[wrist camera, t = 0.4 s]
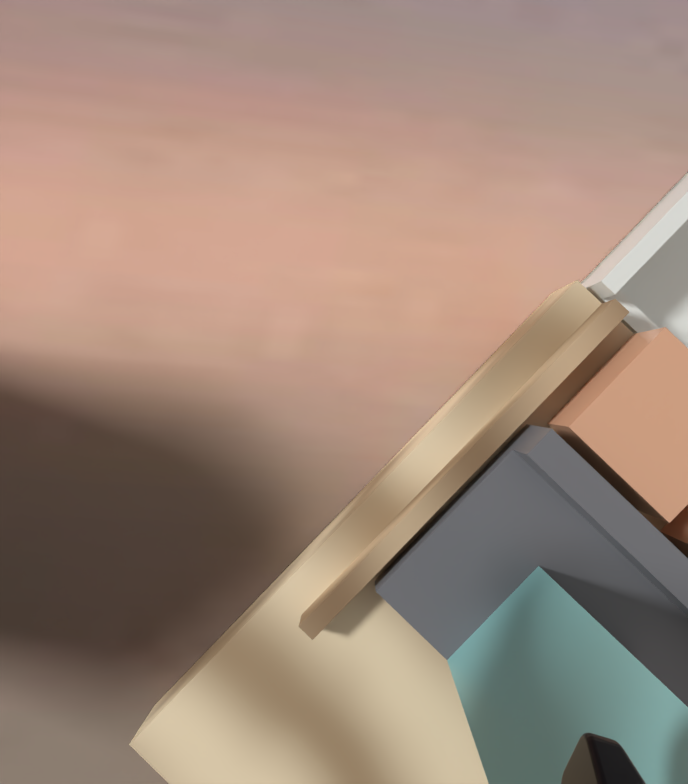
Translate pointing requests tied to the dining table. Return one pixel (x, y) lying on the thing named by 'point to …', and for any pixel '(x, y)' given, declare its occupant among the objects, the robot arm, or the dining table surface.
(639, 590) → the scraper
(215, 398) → the dining table surface
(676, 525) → the tile
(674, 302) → the tray
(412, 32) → the dining table surface
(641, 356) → the tile
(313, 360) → the dining table surface
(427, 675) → the board
